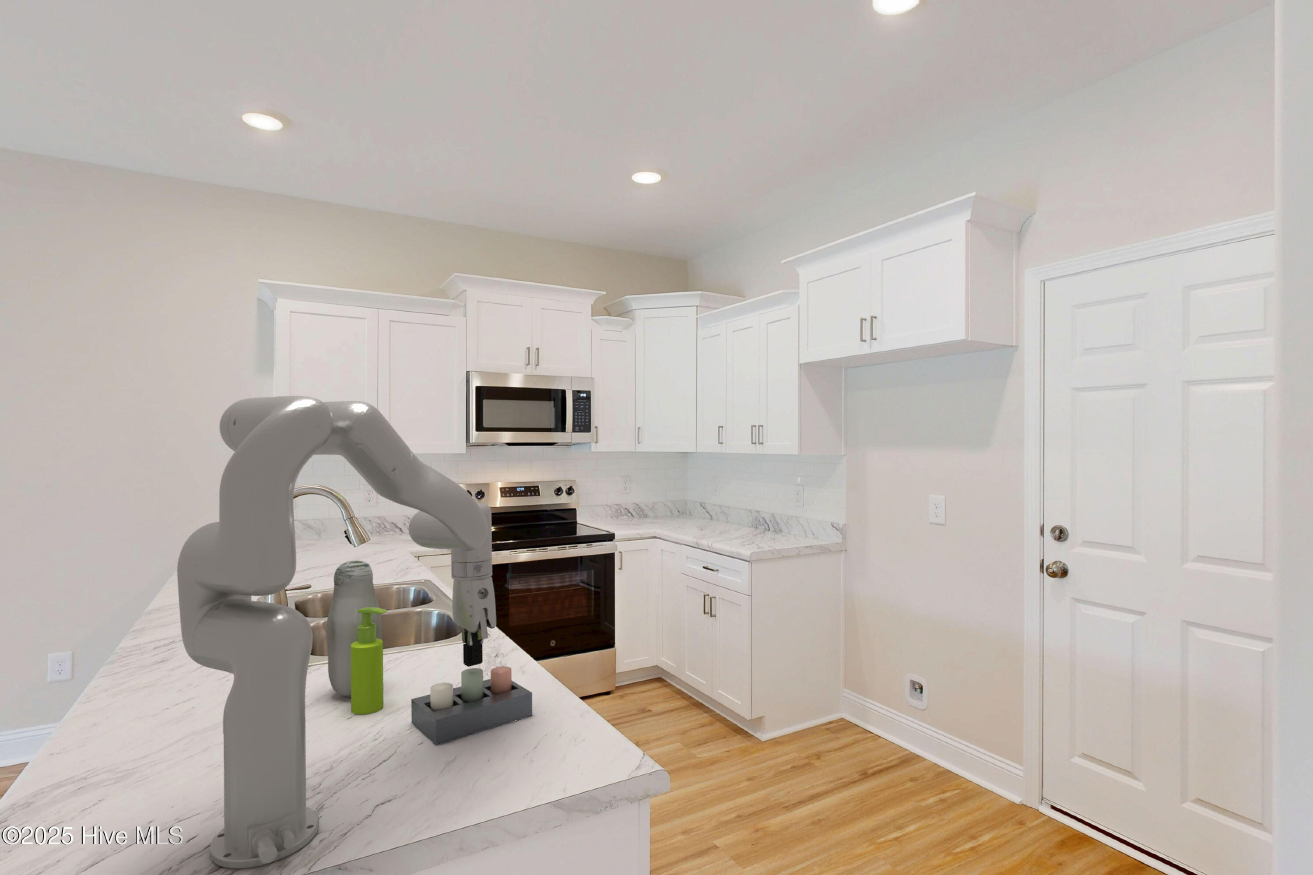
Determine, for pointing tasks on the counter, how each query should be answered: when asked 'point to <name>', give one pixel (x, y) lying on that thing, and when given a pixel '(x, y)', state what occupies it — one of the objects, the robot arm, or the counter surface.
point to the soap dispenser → (367, 666)
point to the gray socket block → (470, 713)
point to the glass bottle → (348, 619)
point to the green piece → (472, 684)
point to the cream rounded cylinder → (441, 696)
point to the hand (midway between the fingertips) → (473, 663)
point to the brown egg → (501, 680)
